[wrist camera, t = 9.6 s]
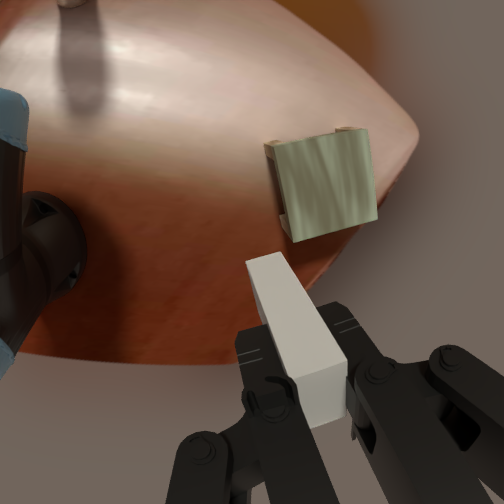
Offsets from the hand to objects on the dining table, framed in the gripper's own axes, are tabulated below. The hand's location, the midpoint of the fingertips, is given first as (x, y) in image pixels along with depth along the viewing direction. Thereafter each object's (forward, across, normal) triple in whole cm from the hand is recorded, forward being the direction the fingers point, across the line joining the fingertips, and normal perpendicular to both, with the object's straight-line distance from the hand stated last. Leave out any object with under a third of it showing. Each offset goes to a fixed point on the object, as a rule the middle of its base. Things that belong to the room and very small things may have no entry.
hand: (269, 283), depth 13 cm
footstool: (+22, +6, -3) cm, 23 cm away
